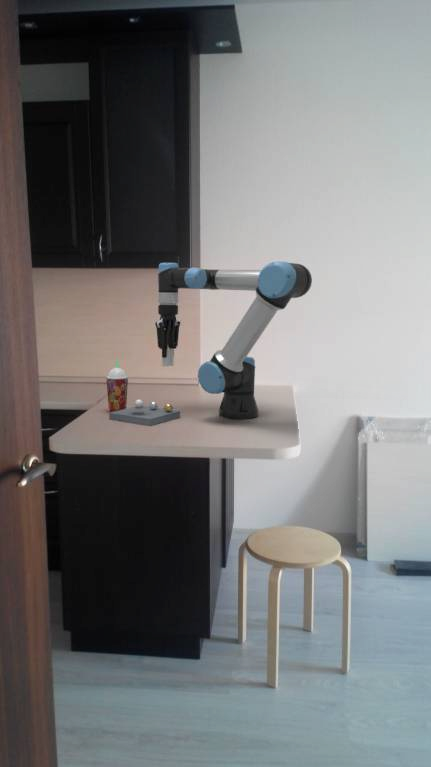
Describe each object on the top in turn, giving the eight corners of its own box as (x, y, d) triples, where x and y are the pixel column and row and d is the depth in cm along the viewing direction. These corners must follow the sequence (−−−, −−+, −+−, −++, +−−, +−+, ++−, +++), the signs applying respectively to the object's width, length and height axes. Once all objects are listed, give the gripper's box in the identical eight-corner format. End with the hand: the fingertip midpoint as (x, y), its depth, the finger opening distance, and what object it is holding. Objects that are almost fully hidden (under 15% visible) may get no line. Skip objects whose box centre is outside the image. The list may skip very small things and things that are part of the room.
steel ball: (159, 409, 222) (159, 401, 222) (154, 410, 220) (154, 402, 219) (152, 408, 224) (152, 400, 223) (147, 409, 221) (147, 401, 221)
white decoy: (144, 407, 226) (144, 399, 225) (139, 408, 223) (139, 400, 223) (138, 406, 228) (138, 398, 227) (133, 407, 225) (133, 399, 224)
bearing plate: (180, 417, 221) (180, 411, 220) (150, 426, 205) (150, 419, 205) (140, 411, 230) (140, 405, 230) (109, 419, 215) (109, 412, 215)
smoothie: (131, 410, 233) (131, 360, 230) (122, 414, 225) (122, 362, 222) (112, 408, 235) (111, 359, 232) (102, 412, 227) (102, 361, 224)
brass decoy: (174, 411, 219) (174, 403, 218) (169, 413, 216) (169, 404, 215) (167, 410, 220) (167, 402, 220) (162, 412, 218) (162, 403, 217)
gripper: (172, 304, 232) (171, 363, 235) (147, 304, 219) (147, 366, 223) (187, 304, 228) (187, 364, 231) (164, 304, 215) (163, 368, 219)
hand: (167, 365), depth 227 cm, fingers open, 2 cm apart
